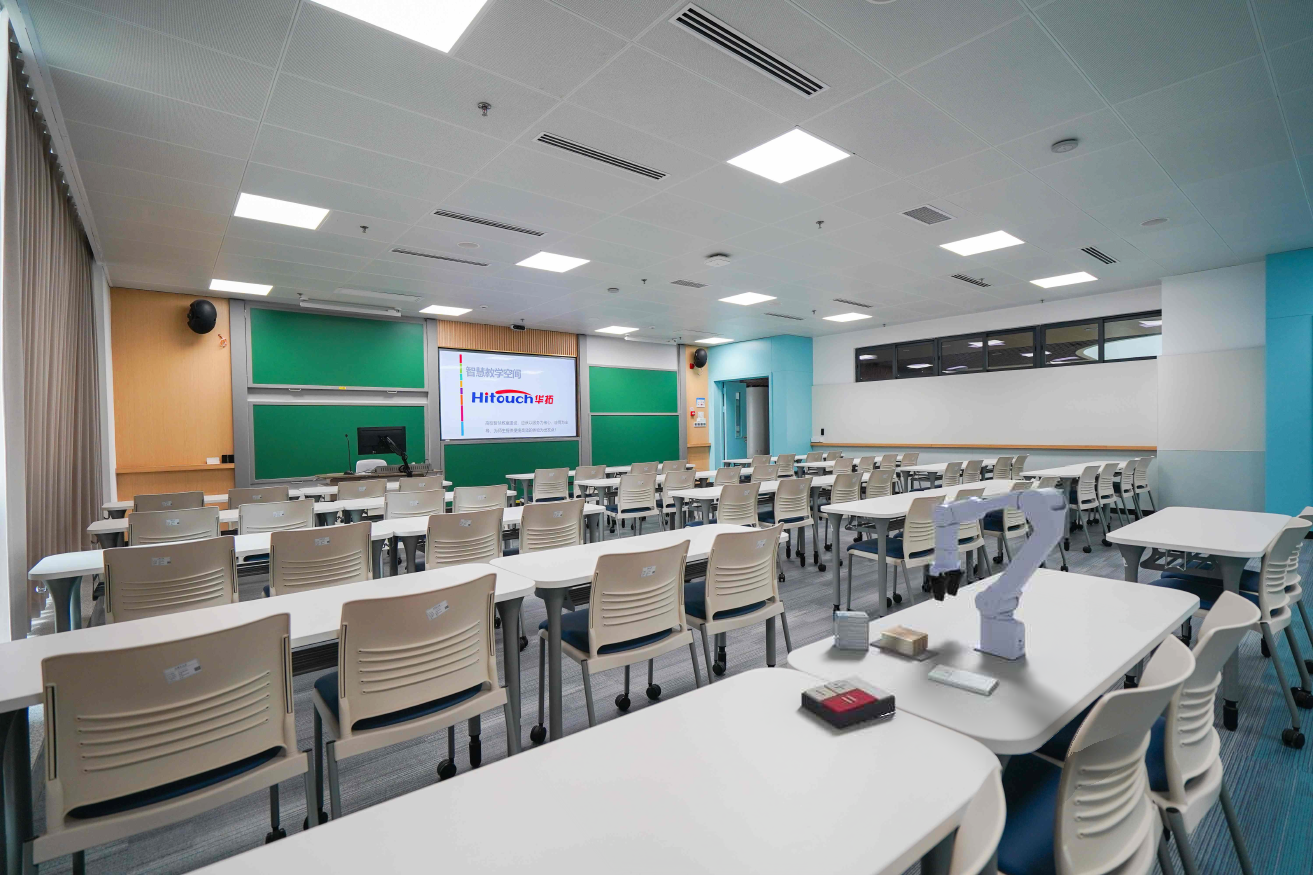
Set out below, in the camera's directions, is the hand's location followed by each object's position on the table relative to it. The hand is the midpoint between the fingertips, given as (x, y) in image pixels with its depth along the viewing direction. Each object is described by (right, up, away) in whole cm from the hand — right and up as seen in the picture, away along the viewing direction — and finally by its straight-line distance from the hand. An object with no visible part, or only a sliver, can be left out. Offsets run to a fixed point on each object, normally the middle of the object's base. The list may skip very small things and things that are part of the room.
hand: (945, 597), depth 163 cm
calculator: (-41, -11, -43) cm, 60 cm away
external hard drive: (-11, -11, -30) cm, 34 cm away
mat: (-16, -10, -11) cm, 22 cm away
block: (-12, -8, -8) cm, 17 cm away
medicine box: (-29, -10, -10) cm, 32 cm away
